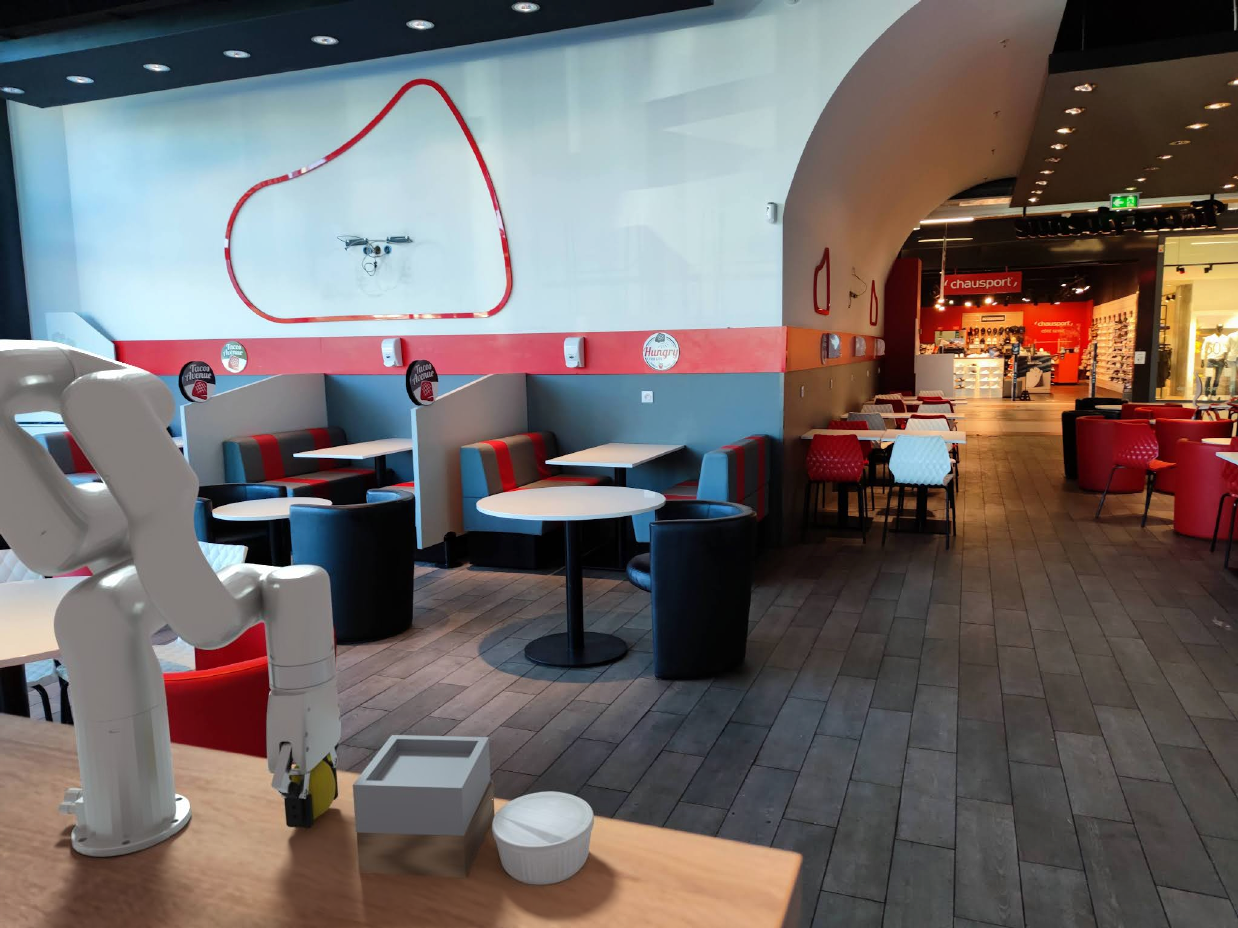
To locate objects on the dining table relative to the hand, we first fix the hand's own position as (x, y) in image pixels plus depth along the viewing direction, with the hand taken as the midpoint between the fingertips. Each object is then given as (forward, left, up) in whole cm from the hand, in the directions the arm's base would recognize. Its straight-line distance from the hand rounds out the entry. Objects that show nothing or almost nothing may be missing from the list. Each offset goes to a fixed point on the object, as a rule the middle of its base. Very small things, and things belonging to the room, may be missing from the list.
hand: (313, 810), depth 105 cm
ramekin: (+30, -6, -1) cm, 31 cm away
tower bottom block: (+16, -4, -1) cm, 17 cm away
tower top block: (+16, -4, +4) cm, 17 cm away
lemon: (0, 0, -1) cm, 1 cm away
